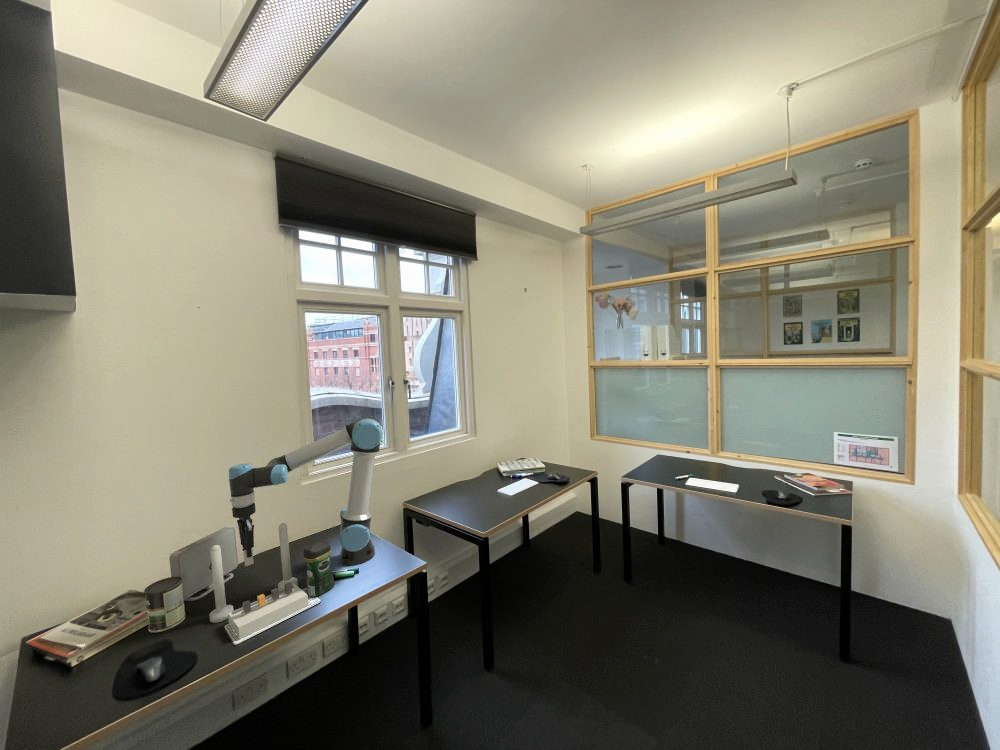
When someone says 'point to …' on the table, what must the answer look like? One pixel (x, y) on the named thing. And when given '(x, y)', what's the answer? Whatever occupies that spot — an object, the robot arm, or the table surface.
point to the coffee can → (164, 604)
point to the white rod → (285, 558)
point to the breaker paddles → (262, 601)
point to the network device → (203, 562)
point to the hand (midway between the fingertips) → (249, 564)
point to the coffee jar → (318, 568)
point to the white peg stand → (218, 587)
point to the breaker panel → (267, 612)
